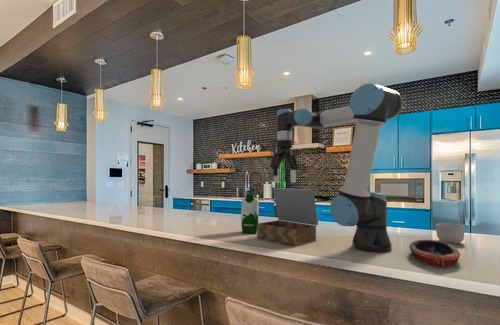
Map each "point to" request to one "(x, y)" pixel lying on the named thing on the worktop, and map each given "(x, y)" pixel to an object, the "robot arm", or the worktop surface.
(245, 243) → the worktop surface
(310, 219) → the lid
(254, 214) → the milk carton
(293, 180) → the robot arm
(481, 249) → the worktop surface
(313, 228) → the walnut box
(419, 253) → the dish
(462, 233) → the teacup
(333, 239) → the worktop surface
